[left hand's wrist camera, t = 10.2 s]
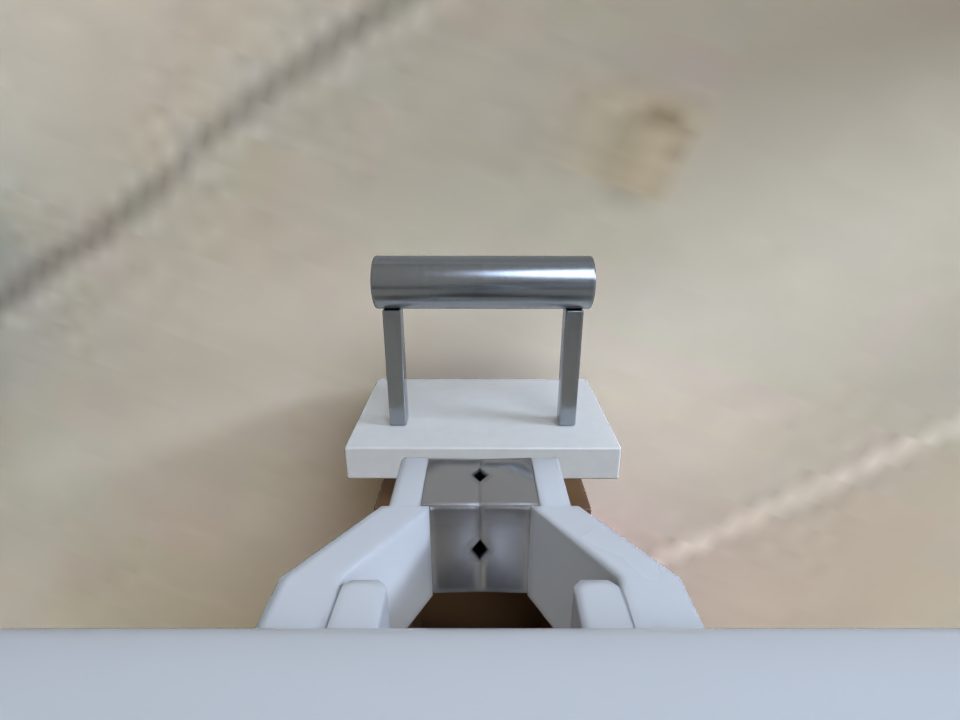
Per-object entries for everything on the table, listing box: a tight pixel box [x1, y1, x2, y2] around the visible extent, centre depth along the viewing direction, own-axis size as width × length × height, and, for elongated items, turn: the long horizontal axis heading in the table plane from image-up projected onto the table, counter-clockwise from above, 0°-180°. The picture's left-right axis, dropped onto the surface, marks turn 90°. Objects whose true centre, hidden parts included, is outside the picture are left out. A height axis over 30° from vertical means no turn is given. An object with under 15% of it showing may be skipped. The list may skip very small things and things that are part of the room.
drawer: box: [344, 256, 621, 628], centre depth 21 cm, size 21×9×6 cm, turn 0°
